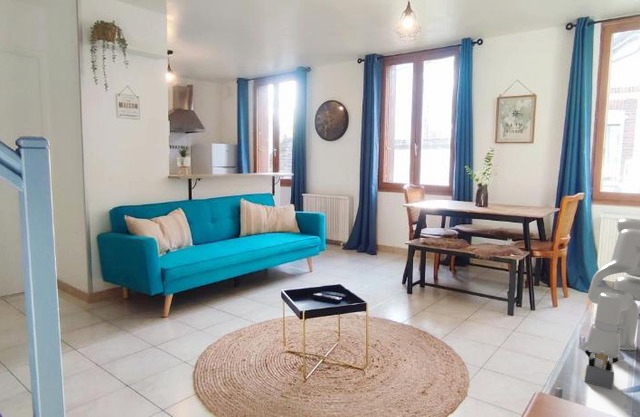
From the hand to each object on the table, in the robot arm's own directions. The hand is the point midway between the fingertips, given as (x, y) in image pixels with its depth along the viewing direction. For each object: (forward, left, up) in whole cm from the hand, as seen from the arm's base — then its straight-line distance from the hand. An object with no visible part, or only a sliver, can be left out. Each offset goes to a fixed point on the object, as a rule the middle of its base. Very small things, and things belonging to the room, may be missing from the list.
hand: (599, 369), depth 164 cm
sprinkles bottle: (0, 0, -4) cm, 4 cm away
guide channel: (-8, 0, -4) cm, 9 cm away
